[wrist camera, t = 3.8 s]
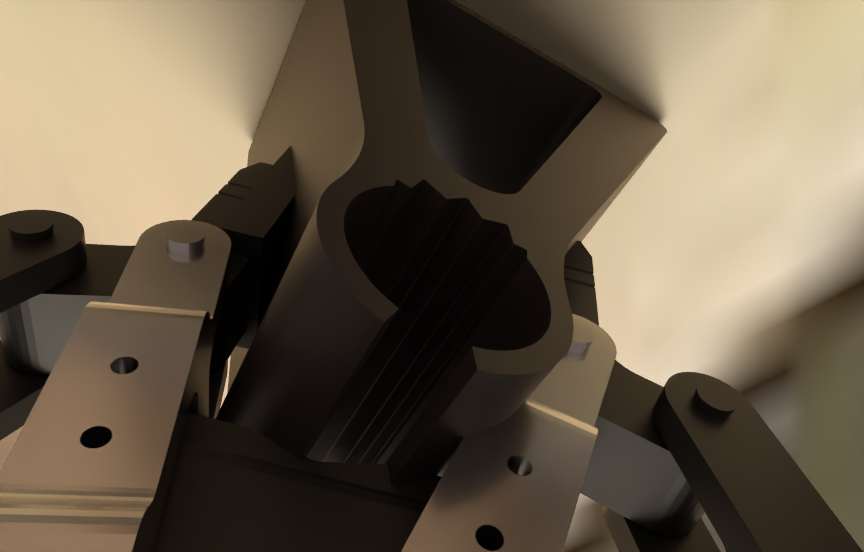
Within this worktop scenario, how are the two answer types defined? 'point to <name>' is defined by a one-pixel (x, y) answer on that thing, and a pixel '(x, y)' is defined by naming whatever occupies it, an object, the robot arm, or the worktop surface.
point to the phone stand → (422, 230)
